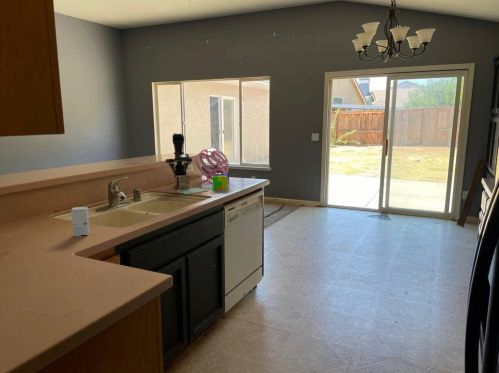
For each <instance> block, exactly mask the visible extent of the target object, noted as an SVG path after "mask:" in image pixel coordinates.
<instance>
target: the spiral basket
mask: <svg viewBox="0 0 499 373" xmlns="http://www.w3.org/2000/svg"><path fill="white" fill-rule="evenodd" d="M209 152H210V153H209ZM203 156H204V157H205V160H206V162H208V164H209V165H211V167H213V169H211V168H210V167H209V166H208V165H207V164H206V162H205V161H204V159H203ZM216 156H217V157H216ZM198 158H199V162H200V163H201V165H202V167H203V168H204V169H205V170H206V171H207V172H209V174H208V173H206V172H205V171H204V170H203V169H202V167H201V166H200V164H199V163H198ZM212 160H213V161H214V162H215V163H216V164H215V163H214V162H213V161H212ZM194 163H195V165H196V167H197V169H198V171H199V172H200V173H201V174H202V175H204V176H205V177H206V178H205V179H202V178H201V179H200V181H201V182H203V183H205V182H207V183H209V184H213V176H214V175H215V174H220V173H218V172H217V171H222V174H229V173H228V172H229V165H230V164H229V160H228V158H227V156H226V155H225V154H224V153H223V152H222V151H220V150H218V149H216V148H208V149H203V150H201V151H200V152H199V153H198V154H196V155H195V158H194ZM224 165H225V167H224ZM210 180H211V181H210Z"/></svg>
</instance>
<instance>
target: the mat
mask: <svg viewBox="0 0 499 373" xmlns="http://www.w3.org/2000/svg"><path fill="white" fill-rule="evenodd" d="M175 192H177V193H180V194H182V195H185V196H187V195H192V193H193V194H197V193H198V194H199V193H206V192H209V189H204V188H201V187H194V188H190V189H185V190H179V189H178V190H176V191H175Z"/></svg>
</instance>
